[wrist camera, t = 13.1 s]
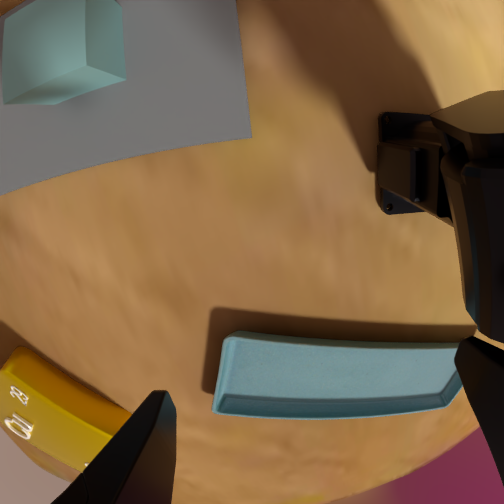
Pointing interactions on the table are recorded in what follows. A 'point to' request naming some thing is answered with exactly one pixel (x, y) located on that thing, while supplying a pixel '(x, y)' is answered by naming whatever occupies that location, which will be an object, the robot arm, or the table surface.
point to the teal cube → (61, 50)
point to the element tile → (55, 410)
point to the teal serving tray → (331, 377)
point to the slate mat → (137, 96)
